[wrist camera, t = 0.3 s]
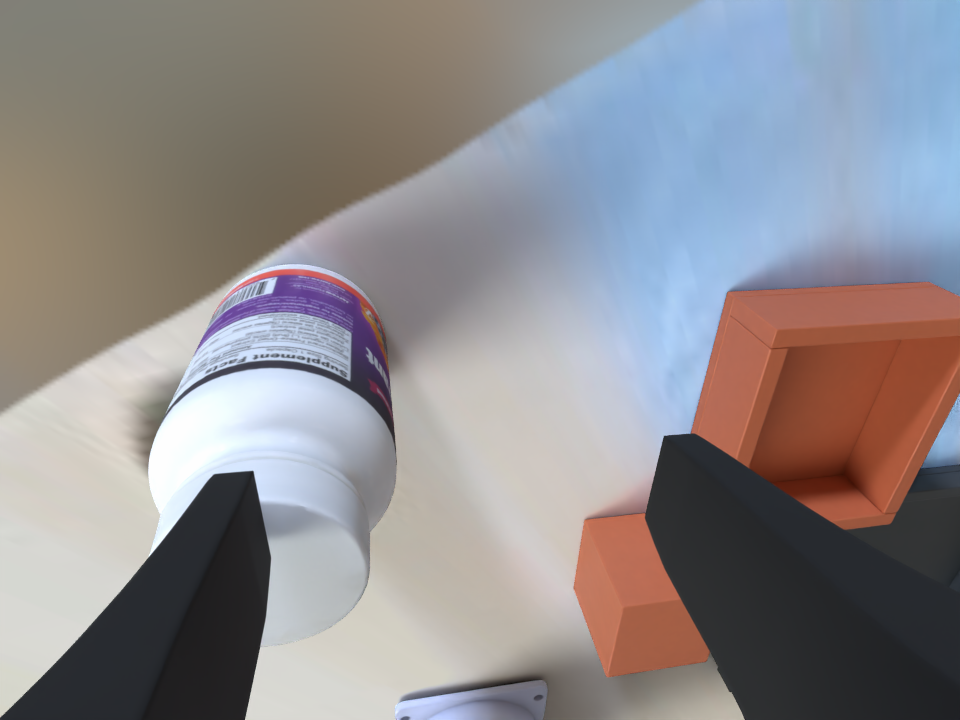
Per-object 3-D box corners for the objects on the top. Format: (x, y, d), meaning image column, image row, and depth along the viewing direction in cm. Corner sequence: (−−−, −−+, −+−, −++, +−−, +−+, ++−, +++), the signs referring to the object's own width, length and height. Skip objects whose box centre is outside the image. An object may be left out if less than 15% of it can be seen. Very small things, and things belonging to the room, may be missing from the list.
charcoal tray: (914, 637, 36) (933, 658, 35) (716, 669, 34) (729, 692, 33) (1029, 456, 29) (1057, 475, 28) (788, 483, 27) (807, 504, 26)
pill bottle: (376, 410, 21) (387, 666, 13) (214, 400, 20) (112, 677, 12) (396, 269, 19) (426, 476, 10) (212, 246, 17) (78, 462, 9)
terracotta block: (661, 576, 29) (706, 662, 25) (573, 587, 28) (606, 678, 24) (679, 508, 27) (733, 592, 23) (584, 519, 26) (622, 607, 22)
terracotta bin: (842, 477, 28) (891, 524, 25) (673, 495, 26) (707, 547, 24) (929, 281, 23) (1001, 315, 20) (726, 290, 21) (776, 329, 19)
